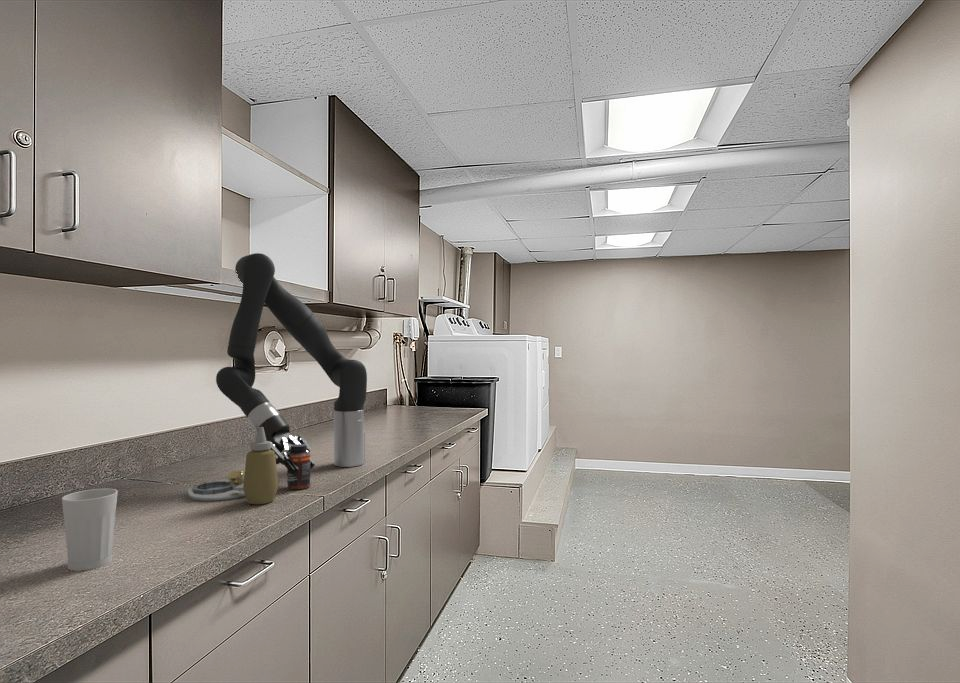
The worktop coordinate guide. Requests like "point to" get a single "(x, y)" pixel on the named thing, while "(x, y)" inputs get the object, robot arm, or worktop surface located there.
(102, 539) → the cup
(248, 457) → the squeeze bottle
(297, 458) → the supplement bottle
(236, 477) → the carrier disc
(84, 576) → the worktop surface
